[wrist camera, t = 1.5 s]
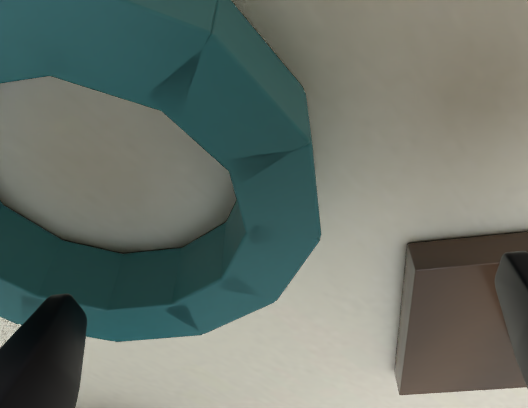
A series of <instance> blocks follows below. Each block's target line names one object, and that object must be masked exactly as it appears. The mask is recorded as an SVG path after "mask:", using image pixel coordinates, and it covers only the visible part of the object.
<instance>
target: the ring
mask: <svg viewBox="0 0 528 408" xmlns="http://www.w3.org/2000/svg"><path fill="white" fill-rule="evenodd" d="M45 76H52V77H55V78H58V79H62V80H65V81H68V82H71V83H74V84H78V85H81V86H84V87H87V88H90V89H93V90H97V91H100V92H103V93H106V94H109V95H112V96H116V97H119V98H122V99H125V100H128V101H132V102H135V103H138V104H141V105H144V106H147V107H151V108H154V109H157V110H160V111H162V112H163V113H164V114H165V115H167V116H168V117H169V118H170V119H171V120H172V121H173V122H174V123H175V124H177V125H178V126H179V127H180V128H181V129H182V130H183V131H184V132H186V133H187V134H188V135H189V136H190V137H191V138H192V139H193V140H194V141H196V142H197V143H198V144H199V145H200V146H201V147H202V148H203V149H205V150H206V151H207V152H208V153H209V154H210V155H211V156H212V157H213V158H215V159H216V160H217V161H218V162H219V163H220V164H221V165H222V166H223V167H225V168H226V169H227V170H228V171H229V173H230V177H231V181H232V184H233V188H234V192H235V195H236V199H237V200H236V202H235V205H234V207H233V209H232V211H231V213H230V215H229V217H228V219H227V221H226V222H225V223H224V224H222V225H220V226H219V227H217V228H215V229H213V230H212V231H210V232H208V233H207V234H205V235H203V236H201V237H200V238H198V239H196V240H195V241H193V242H191V243H189V244H188V245H186V246H184V247H183V248H174V249H164V250H155V251H145V252H135V253H125V254H121V253H117V252H112V251H108V250H104V249H99V248H95V247H91V246H86V245H82V244H77V243H73V242H69V241H64V240H61V239H60V238H58V237H56V236H55V235H53V234H51V233H50V232H48V231H46V230H45V229H43V228H41V227H40V226H38V225H36V224H35V223H33V222H31V221H29V220H28V219H26V218H24V217H23V216H21V215H19V214H18V213H16V212H14V211H13V210H11V209H9V208H8V207H6V206H4V205H3V204H2V202H1V201H0V317H2V318H5V319H7V320H9V321H11V322H13V323H16V324H21V325H22V324H23V323H24V322H25V321H26V320H27V319H28V318H29V317H30V316H31V315H32V314H33V313H34V312H35V310H36V309H37V308H38V307H39V306H40V305H41V304H42V303H43V302H44V301H45V300H46V299H47V298H48V297H49V296H51V295H56V294H70V295H72V296H73V298H74V299H75V300H76V302H77V303H78V304H79V305H80V307H81V308H82V309H83V311H84V312H85V314H86V316H87V330H86V336H87V337H92V338H98V339H103V340H109V341H115V342H121V341H133V340H146V339H158V338H171V337H183V336H195V335H202V334H205V333H207V332H210V331H212V330H214V329H216V328H218V327H221V326H223V325H225V324H227V323H230V322H232V321H234V320H236V319H238V318H241V317H243V316H245V315H247V314H250V313H252V312H254V311H256V310H258V309H261V308H263V307H265V306H267V305H270V304H272V303H274V302H275V301H276V300H277V299H278V298H279V297H280V295H281V294H282V292H283V291H284V290H285V288H286V287H287V285H288V284H289V283H290V281H291V280H292V279H293V277H294V276H295V274H296V273H297V272H298V270H299V269H300V267H301V266H302V265H303V263H304V262H305V260H306V259H307V258H308V256H309V255H310V253H311V252H312V251H313V249H314V248H315V246H316V245H317V244H318V242H319V241H320V236H321V227H320V217H319V207H318V197H317V187H316V177H315V167H314V156H313V146H312V138H311V130H310V123H309V115H308V107H307V99H306V93H305V92H304V89H303V87H302V86H301V84H300V83H299V82H298V81H297V80H296V78H295V77H294V76H293V75H292V74H291V72H290V71H289V70H288V69H287V68H286V66H285V65H284V64H283V63H282V62H281V60H280V59H279V58H278V57H277V55H276V54H275V53H274V52H273V51H272V49H271V48H270V47H269V46H268V45H267V43H266V42H265V41H264V40H263V39H262V37H261V36H260V35H259V34H258V33H257V31H256V30H255V29H254V28H253V27H252V25H251V24H250V23H249V22H248V20H247V19H246V18H245V17H244V16H243V14H242V13H241V12H240V11H239V10H238V8H237V7H236V6H235V5H234V4H233V2H232V1H231V0H0V83H5V82H12V81H19V80H25V79H32V78H39V77H45Z"/></svg>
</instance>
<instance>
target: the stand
mask: <svg viewBox="0 0 528 408" xmlns="http://www.w3.org/2000/svg"><path fill="white" fill-rule="evenodd" d="M515 251H526V252H528V232H520V233H510V234H500V235H489V236H479V237H469V238H459V239H449V240H439V241H428V242H418V243H409V244H408V245H407V254H406V264H405V274H404V284H403V294H402V304H401V314H400V323H399V333H398V343H397V353H396V363H395V377H396V381H397V386H398V391H399V395H410V394H426V393H442V392H458V391H473V390H489V389H505V388H521V387H527V385H526V383H525V381H524V378H523V376H522V373H521V371H520V368H519V366H518V363H517V361H516V358H515V354H514V351H513V348H512V344H511V341H510V337H509V334H508V330H507V327H506V323H505V320H504V316H503V313H502V309H501V306H500V302H499V299H498V295H497V292H496V288H495V275H496V272H497V269H498V266H499V263H500V260H501V257H502V255H503V254H504V253H506V252H515Z"/></svg>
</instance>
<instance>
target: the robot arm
mask: <svg viewBox="0 0 528 408" xmlns="http://www.w3.org/2000/svg"><path fill="white" fill-rule="evenodd" d="M495 288H496V292H497V295H498V299H499V302H500V306H501V309H502V313H503V316H504V320H505V323H506V327H507V330H508V334H509V337H510V341H511V344H512V348H513V351H514V354H515V358H516V361H517V363H518V366H519V368H520V371H521V373H522V376H523V378H524V381H525V383H526V385H527V388H528V252H526V251H515V252H506V253H504V254H503V255H502V257H501V260H500V263H499V266H498V269H497V272H496V275H495ZM86 330H87V316H86V314H85V312H84V311H83V309H82V308H81V307H80V305H79V304H78V303H77V302H76V300H75V299H74V298H73V296H72V295H70V294H56V295H51V296H49V297H48V298H47V299H46V300H45V301H44V302H43V303H42V304H41V305H40V306H39V307H38V308H37V309H36V310H35V312H34V313H33V314H32V315H31V316H30V317H29V318H28V319H27V320H26V321H25V322H24V323H23V324H22V326H21V327H20V328H19V329H18V330H17V331H16V332H15V333H14V334H13V335H12V336H11V337H10V338H9V340H8V341H7V342H6V343H5V344H4V345H3V346H2V347H1V348H0V408H75V406H76V402H77V397H78V392H79V387H80V380H81V372H82V364H83V355H84V347H85V339H86Z"/></svg>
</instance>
